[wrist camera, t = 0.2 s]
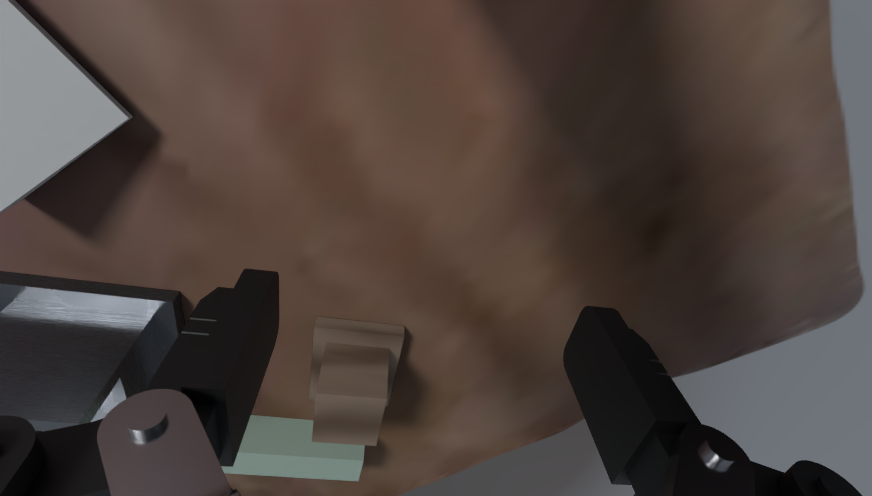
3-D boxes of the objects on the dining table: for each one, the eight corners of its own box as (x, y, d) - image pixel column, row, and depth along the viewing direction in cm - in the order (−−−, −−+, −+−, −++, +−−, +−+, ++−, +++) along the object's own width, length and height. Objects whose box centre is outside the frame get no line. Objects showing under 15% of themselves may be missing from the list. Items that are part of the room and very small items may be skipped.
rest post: (316, 316, 34) (301, 378, 30) (404, 325, 36) (404, 386, 31) (311, 388, 39) (297, 451, 34) (388, 394, 40) (386, 457, 36)
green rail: (98, 399, 39) (70, 440, 36) (366, 421, 43) (363, 461, 40) (106, 422, 41) (80, 464, 38) (361, 442, 45) (358, 481, 42)
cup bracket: (-6, 270, 30) (-159, 390, 22) (179, 291, 32) (102, 409, 24) (40, 373, 36) (-66, 498, 28) (194, 386, 38) (136, 506, 30)
